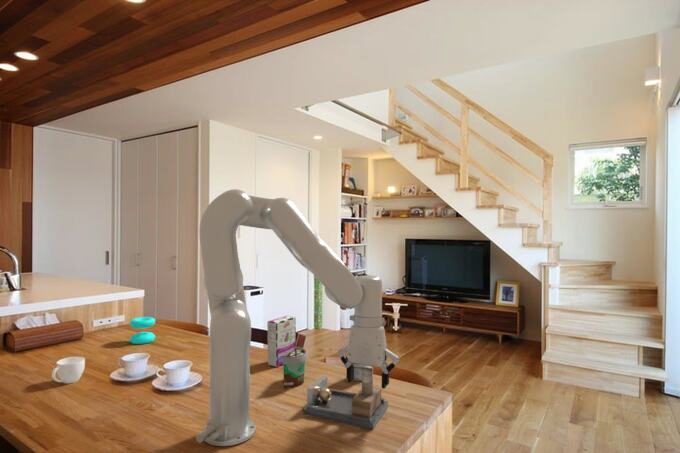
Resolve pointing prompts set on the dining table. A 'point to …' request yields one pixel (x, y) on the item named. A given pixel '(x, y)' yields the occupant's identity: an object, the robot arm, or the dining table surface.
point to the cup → (69, 369)
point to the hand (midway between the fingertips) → (367, 383)
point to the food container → (294, 367)
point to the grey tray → (338, 406)
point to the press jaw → (366, 395)
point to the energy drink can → (358, 372)
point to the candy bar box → (281, 339)
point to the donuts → (142, 336)
